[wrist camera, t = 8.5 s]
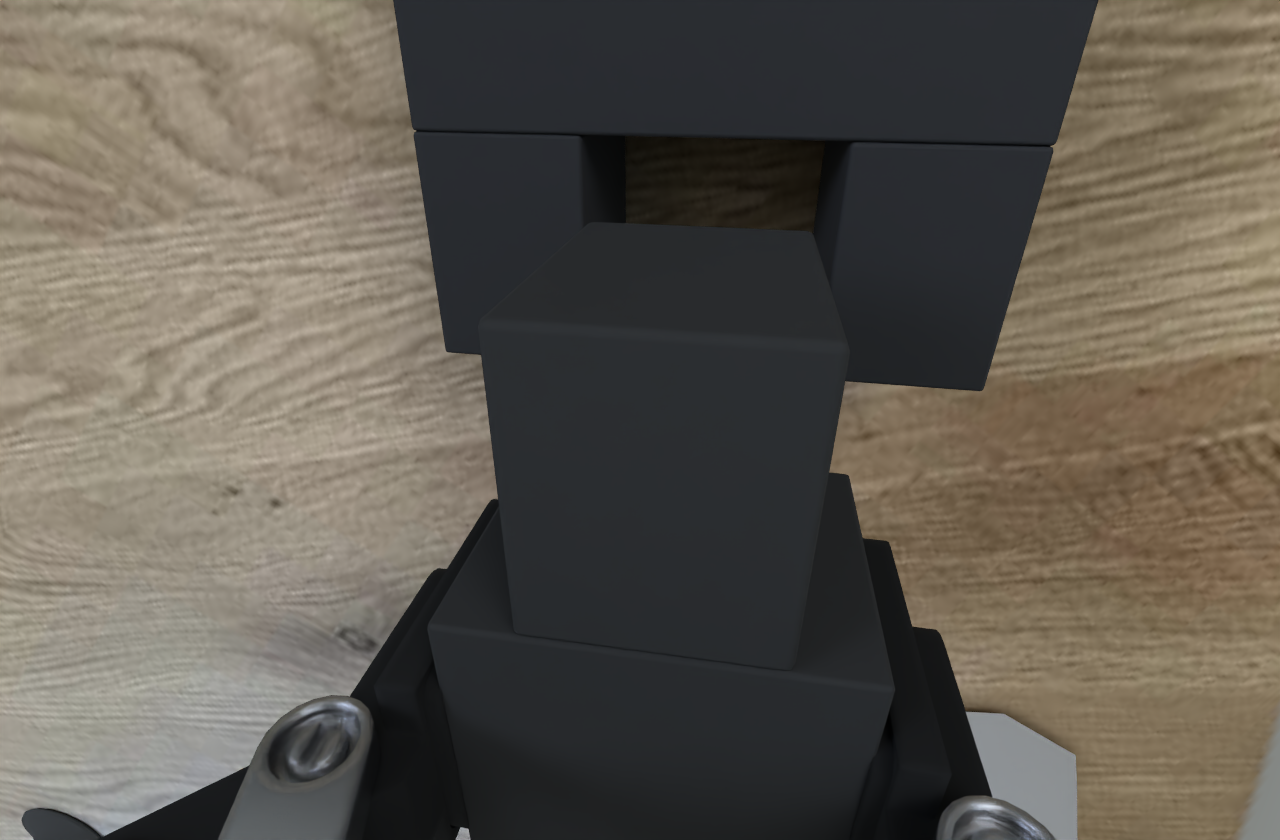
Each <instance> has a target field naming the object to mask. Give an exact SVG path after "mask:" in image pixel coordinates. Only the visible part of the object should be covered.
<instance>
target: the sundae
mask: <svg viewBox="0 0 1280 840" xmlns="http://www.w3.org/2000/svg"><path fill="white" fill-rule="evenodd" d="M22 823H23V826H24V827H25V829H26V830H27V831H28V832H29V833H30V835H31V836H32V837H33V838H34V840H98V839H100V838H101V837H100V836H99V835H98V834H97V833H96V832H94V831H93V830H92V829H91V828H89V827H88V826H86V825H85V824H83V823H81V822H80V821H78V820H76V819H74V818H72V817H70V816H68V815H65V814H62V813H59V812H56V811H53V810H47V809H32V810H29V811H26V812H25V813H24V815H23V817H22Z"/></svg>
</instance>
